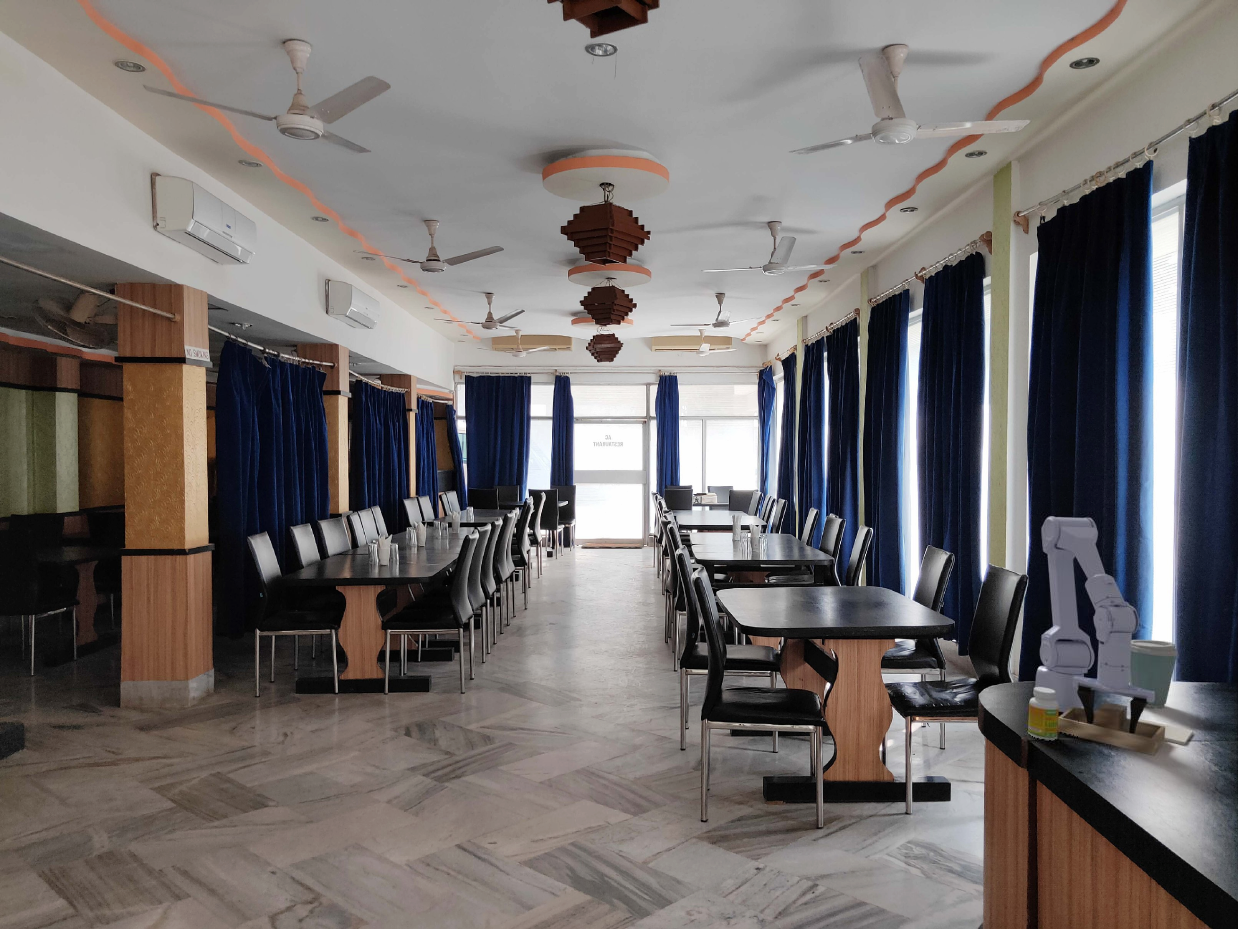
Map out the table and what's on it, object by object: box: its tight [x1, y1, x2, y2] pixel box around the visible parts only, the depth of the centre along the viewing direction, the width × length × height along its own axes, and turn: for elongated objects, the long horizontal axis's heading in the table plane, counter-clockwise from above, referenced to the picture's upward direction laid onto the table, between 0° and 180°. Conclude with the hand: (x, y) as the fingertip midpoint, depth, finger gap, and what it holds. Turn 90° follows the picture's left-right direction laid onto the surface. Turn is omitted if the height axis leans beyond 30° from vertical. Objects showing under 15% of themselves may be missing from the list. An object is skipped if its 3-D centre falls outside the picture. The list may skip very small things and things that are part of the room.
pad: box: [1138, 718, 1194, 746], centre depth 172 cm, size 10×10×1 cm
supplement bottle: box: [1027, 687, 1059, 741], centre depth 167 cm, size 5×5×10 cm
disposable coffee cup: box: [1129, 639, 1179, 709], centre depth 192 cm, size 11×11×15 cm
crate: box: [1058, 706, 1166, 756], centre depth 169 cm, size 17×11×3 cm, turn 47°
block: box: [1095, 701, 1128, 732], centre depth 169 cm, size 4×8×6 cm, turn 137°
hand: (1110, 728), depth 169 cm, fingers open, 7 cm apart
